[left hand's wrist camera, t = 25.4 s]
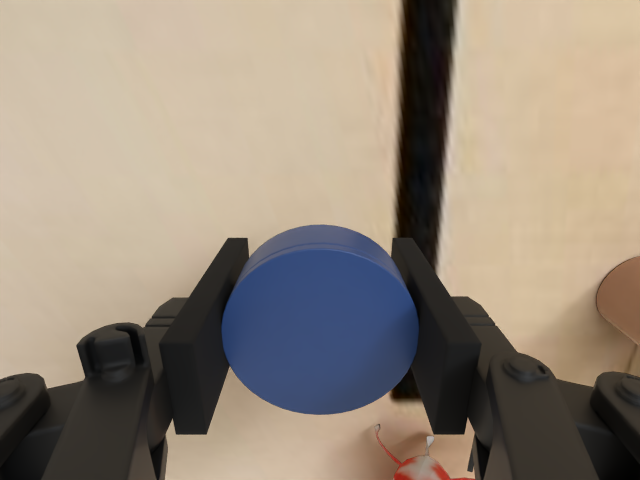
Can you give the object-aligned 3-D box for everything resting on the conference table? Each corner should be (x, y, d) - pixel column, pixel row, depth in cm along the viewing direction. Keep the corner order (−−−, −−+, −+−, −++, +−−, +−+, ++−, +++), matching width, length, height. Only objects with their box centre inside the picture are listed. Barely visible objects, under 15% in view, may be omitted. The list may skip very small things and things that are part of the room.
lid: (430, 333, 13) (449, 373, 11) (288, 392, 14) (283, 438, 12) (359, 191, 11) (367, 211, 9) (202, 271, 12) (180, 304, 10)
